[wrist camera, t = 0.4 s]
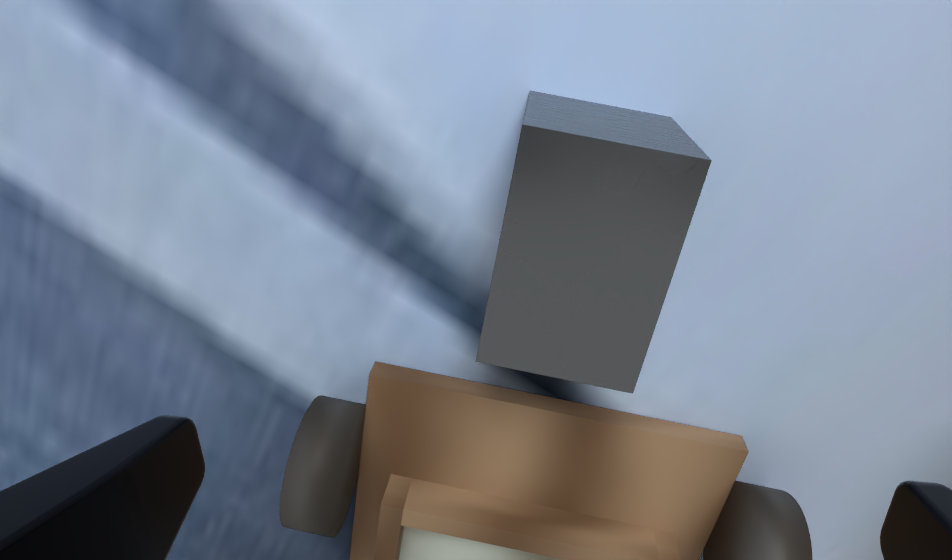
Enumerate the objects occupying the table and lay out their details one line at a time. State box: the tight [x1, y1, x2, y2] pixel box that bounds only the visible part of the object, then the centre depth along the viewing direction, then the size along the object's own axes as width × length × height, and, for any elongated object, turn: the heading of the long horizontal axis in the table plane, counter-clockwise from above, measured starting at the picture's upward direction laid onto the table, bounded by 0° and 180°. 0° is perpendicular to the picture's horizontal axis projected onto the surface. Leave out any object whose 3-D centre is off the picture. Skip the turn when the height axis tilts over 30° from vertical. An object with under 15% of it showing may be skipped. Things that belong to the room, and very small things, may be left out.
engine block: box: [476, 91, 711, 393], centre depth 16 cm, size 4×6×5 cm, turn 170°
